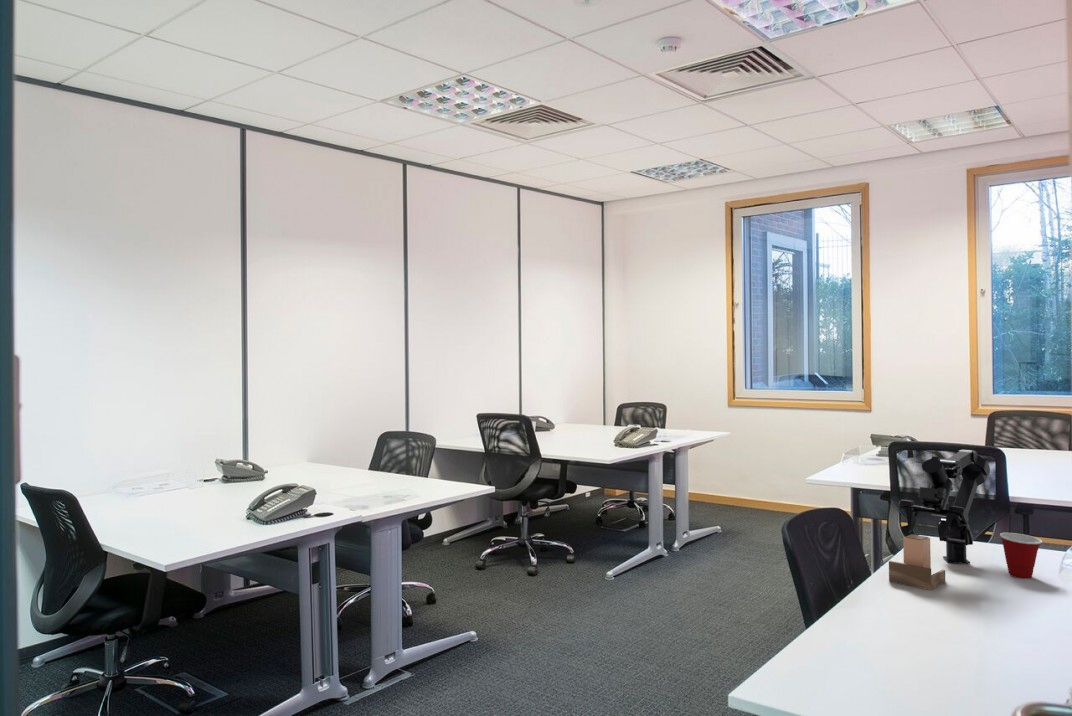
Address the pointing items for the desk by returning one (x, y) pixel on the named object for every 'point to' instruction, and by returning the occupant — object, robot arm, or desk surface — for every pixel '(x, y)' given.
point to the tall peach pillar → (917, 550)
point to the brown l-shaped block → (915, 575)
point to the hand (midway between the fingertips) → (925, 534)
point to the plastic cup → (1020, 553)
